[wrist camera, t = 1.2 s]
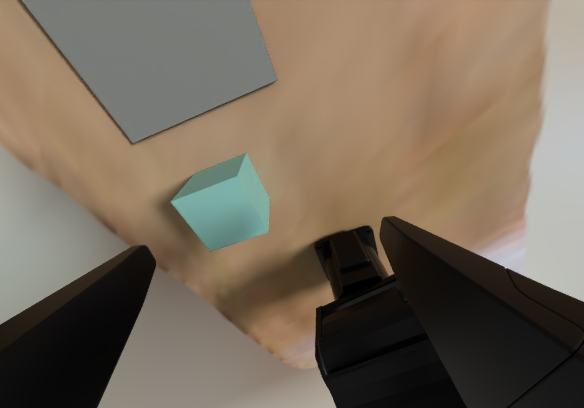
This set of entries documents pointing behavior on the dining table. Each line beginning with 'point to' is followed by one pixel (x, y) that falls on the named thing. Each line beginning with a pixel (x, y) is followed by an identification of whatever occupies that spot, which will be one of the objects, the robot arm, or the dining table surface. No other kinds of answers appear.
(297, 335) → the dining table surface
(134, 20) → the gray mat
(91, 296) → the robot arm
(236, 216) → the teal block
